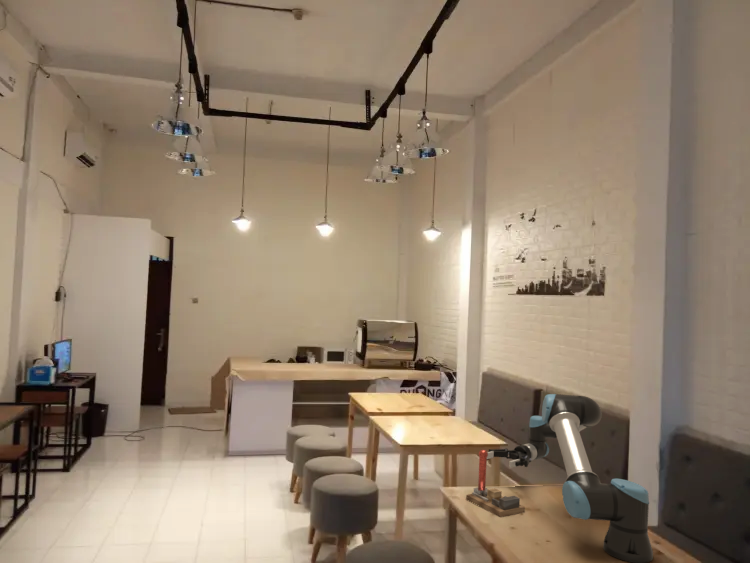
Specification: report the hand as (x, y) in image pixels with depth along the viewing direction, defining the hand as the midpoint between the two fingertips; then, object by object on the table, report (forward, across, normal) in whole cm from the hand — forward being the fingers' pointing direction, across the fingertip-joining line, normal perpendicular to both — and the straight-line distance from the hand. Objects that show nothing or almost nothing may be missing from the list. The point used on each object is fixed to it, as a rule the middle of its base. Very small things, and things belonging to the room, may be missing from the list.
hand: (496, 460), depth 235 cm
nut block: (+11, -8, -12) cm, 18 cm away
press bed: (+11, -8, -14) cm, 20 cm away
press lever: (+10, -2, -12) cm, 16 cm away
